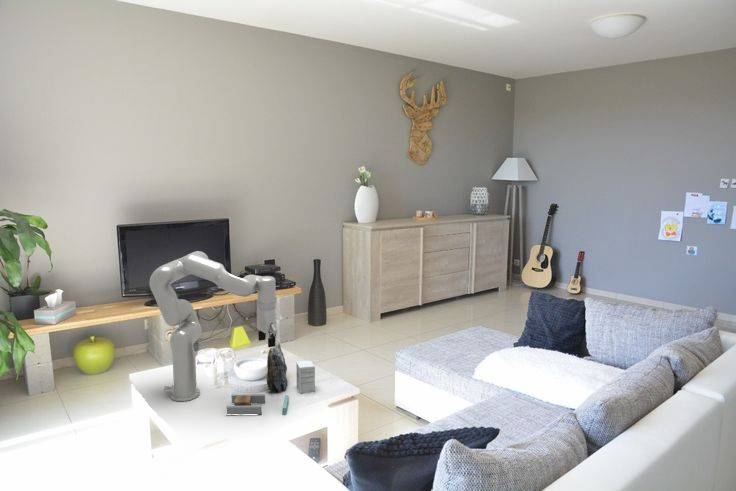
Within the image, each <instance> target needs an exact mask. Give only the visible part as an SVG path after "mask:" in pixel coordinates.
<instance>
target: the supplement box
mask: <svg viewBox="0 0 736 491" xmlns="http://www.w3.org/2000/svg"><path fill="white" fill-rule="evenodd" d="M315 384H316V366H315V364H314V363H313V361H312V360H303V361H296V389H297V391H298V393H299V394H307V393H308V394H309V393H315V392H316V385H315Z"/></svg>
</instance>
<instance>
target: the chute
mask: <svg viewBox="0 0 736 491" xmlns="http://www.w3.org/2000/svg"><path fill="white" fill-rule="evenodd" d="M237 396H251V403H257V404H258V405H251V406H234V405H226V415H227V414H261V413H263V412H262V410H263V409H262V408H263V407H262V404H265V403H266V394H264V393H263V394H256V393H255V394H253V393H252V394H249V393H247V394H245V393H244V394H232V395H231V404H232V403H234V401H235V399H236V397H237ZM259 404H260V405H259ZM261 415H262V414H261Z"/></svg>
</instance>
